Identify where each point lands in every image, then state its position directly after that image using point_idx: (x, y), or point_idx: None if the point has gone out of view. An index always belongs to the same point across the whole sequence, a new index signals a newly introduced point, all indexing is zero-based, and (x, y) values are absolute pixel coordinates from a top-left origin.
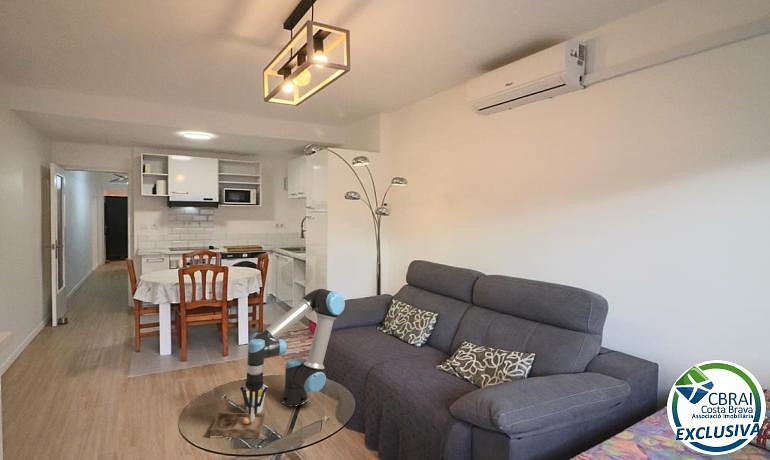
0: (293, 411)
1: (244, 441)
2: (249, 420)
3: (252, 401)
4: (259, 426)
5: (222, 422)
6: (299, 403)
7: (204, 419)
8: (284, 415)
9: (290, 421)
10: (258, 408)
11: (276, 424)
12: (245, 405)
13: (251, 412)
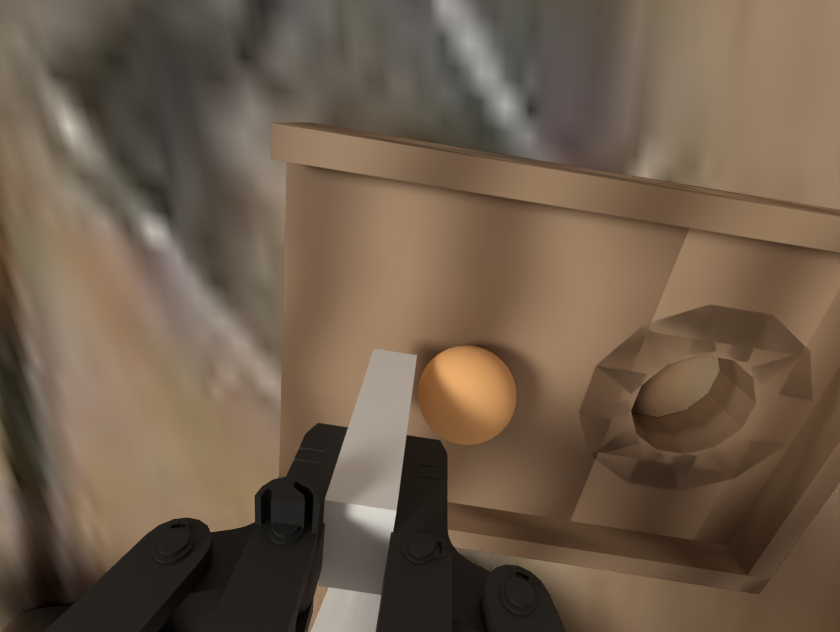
0: (69, 545)
1: (483, 60)
2: (429, 375)
3: None
4: (304, 289)
5: (733, 447)
6: (27, 626)
7: (830, 560)
8: (129, 504)
9: (43, 404)
10: (346, 603)
11: (166, 375)
12: (537, 596)
13: (394, 441)
